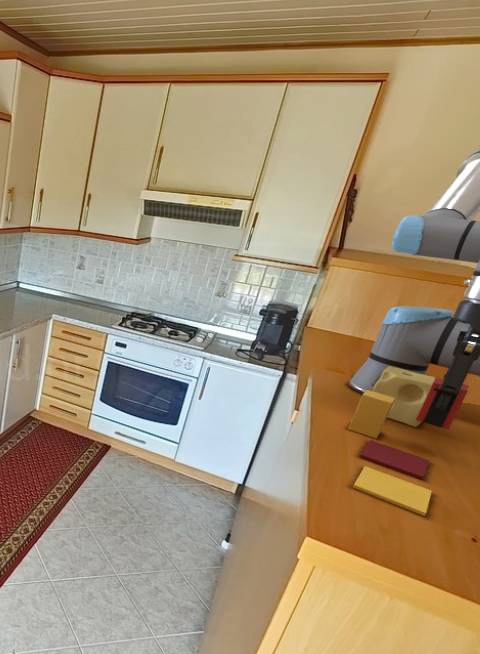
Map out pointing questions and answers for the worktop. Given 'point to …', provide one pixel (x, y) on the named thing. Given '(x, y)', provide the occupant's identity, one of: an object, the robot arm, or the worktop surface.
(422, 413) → the red block
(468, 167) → the robot arm
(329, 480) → the worktop surface
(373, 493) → the yellow mat
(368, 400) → the yellow block
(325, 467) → the worktop surface
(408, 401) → the cheese
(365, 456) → the red mat
